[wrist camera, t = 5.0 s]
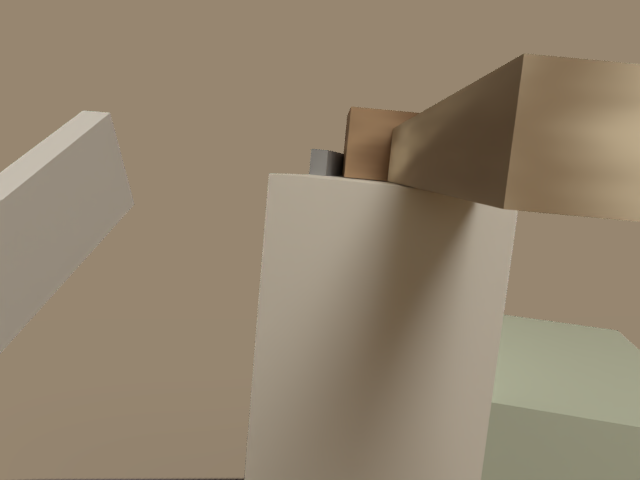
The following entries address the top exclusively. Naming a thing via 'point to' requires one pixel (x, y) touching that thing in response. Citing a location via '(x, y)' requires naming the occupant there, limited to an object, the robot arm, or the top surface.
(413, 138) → the mallet
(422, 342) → the stepped plinth
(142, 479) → the top surface
